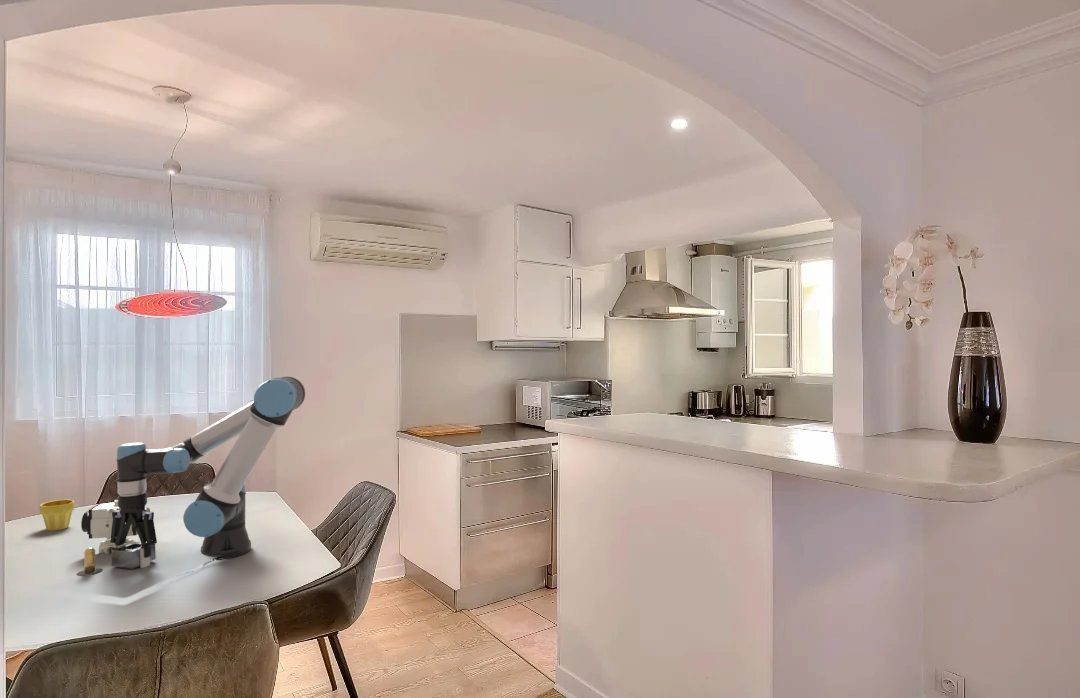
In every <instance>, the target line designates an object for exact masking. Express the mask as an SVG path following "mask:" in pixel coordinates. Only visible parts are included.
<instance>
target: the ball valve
mask: <svg viewBox="0 0 1080 698" xmlns="http://www.w3.org/2000/svg"><path fill="white" fill-rule="evenodd" d="M118 510H121V508H119V507H118V499H115V500H113V503H101V504H99V503H97V504H96V505H94V506H93V507H90V508H89V509H88V510H87V511H85V512H84V513H83V514H82V517H81V522H80V527H81V531H82V532H83V533H86V534H87V535H88V539H89V540H90V539H105V538H106V539H105V541H101V542H100V543H99V546H98V552H99V554H101V553H105V554H106V555H108V554H110V553H112V550H113V549H115V548H116V545H115V543H111V542H110V539H111V531H112V522H113V517H112V512H115V511H118ZM145 510H146V512H149V513H150V512H151V509H150V508H149V507H145ZM140 523H141V522H140ZM138 524H139V523H138ZM137 535H138V533H137V530H136V528H135V527H134V526H133V524H131V526H130V529H129V532H128V535H127V537H131V536H132V537H134V536H137ZM115 538H116V537H115ZM126 541H127V542H126V543H127V544H130V543H132V542H135V540H134V539H130V538H126ZM124 544H125V543H124Z"/></svg>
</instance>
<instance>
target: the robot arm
mask: <svg viewBox="0 0 1080 698" xmlns="http://www.w3.org/2000/svg"><path fill="white" fill-rule="evenodd" d="M305 398H306V389H305V385H304V384H303V383H302V382H301V381H300V380H298V379H297V378H295V377H292V376H282V377H273V378H270V379H267V380H265V381H264V382H262V383H261V384H260V385H259V386H258V387H257V388H256V390H255V391H254V395H253V401H251V402H250V403H249V402H248V404H246V405H244V406H243V407H240V408H238V409H237V410H235V411H234V412H232V413H230V414H228V415H226V416H225V417H223V418H222V419H220V420H218V421H217V422H214V423H212V424H211V425H210V426H207V427H206V428H204V429H202V430H200V431H199V432H198V433H196V434H193V435H191V436H190V437H188V438H187V439H184V440H183V441H181V442H179V443H177V444H174V445H171V446H169V447H166V448H158V449H157V448H155V449H154V448H153V449H151V448H150V449H147V445H146V443H145V442H129V443H123V444H120V445H119V446H118V447H117V451H116V459H115V460H116V466H117V467H116V468H117V481H116V482H117V484H116V485H117V494H118V496H117V500H118V507H119V508H121V510H118V511H115V512H112V517H113V522H112V531H111V538H110V539H109V540H110V542H111V543H115V545H116V548H118V547H121V546H124V545H127V543H126V542H127V541H126V539H128V538H127V537H128V536H127V535H128V532H129V529H130V526H131V524H133V526H134V527H135V528H136V530H137V533H138V534H137V535H138V538H139V542H141V544H142V547H140V566H139V567H140V569H144V568H146V567H148V566H150V565H151V561H150V556H151V546H152V545H153V544H155V545H156V544H157V543H158V539H157V535H156V529H155V528H156V527H155V521H154V517H155V516H154V515H155V513H154V511H150V513H149V512H146V510H145V508H146V505H147V503H148V493H147V484H148V483H147V475H150V474H152V475H153V474H175V473H183V472H185V471H187V469H188V468H189V465H191V464H193V463H196V461H198V460H199V459H200V458H202V457H204V456H206V455H207V454H209V453H211V452H212V451H215V450H217V449H218V448H219V447H221V446H223V445H225V444H226V443H228V442H230V441H232V440H233V439H235V438H237V439H236V441H235V442H234V444H233V446H232V447H231V449H230V451H229V452H228V455H227V456H226V457H225V460H224V461H223V462H222V464H221V466H220V468H219V470H218V472H217V473H216V475H215V476H214V478H213V481H212V482H209V483H206V484H204V485H203V487H202V489H201V490H200V492H199V493H198V495H197V496H196V498H195V500H194V501H193V502H191V503H190V504H189V505H188V506H187V508H186V509H185V510H184V514H183V518H182V519H183V524H184V527H185V528H186V530H187V531H188V532H189V533H190V534H191V535H193V536H195V537H199V538H204V539H203V542H202V545H201V546H200V553H201V554H202V555H205V556H217V557H214V558H213V560H224V559H231V558H236V557H239V556H243V555H245V554H248V553H249V552H250V551H251V549H252V541H251V539H250V538H249V534H248V531H247V527H246V494H247V492H246V486H245V483H246V482H247V480H248V478H249V477H250V475H251V473H252V472H253V470H254V468H255V467H256V465H257V463H258V461H259V460H260V457H261V456H262V454H263V452H264V451H265V449H266V447H267V446H268V444H269V442H270V440H271V439H272V437H273V435H274V434H275V431H277V429H278V428H281V427H284V426H285V424H286V423H287V421H288V419H289V418H290V416H291V414H292V413H293V411H295V410H297V409H298V408H299V407H301V405H302V404H303V402H304V401H305V400H306V399H305ZM140 522H141V523H140ZM138 523H139V524H138ZM115 537H116V538H115ZM124 543H125V544H124Z"/></svg>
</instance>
